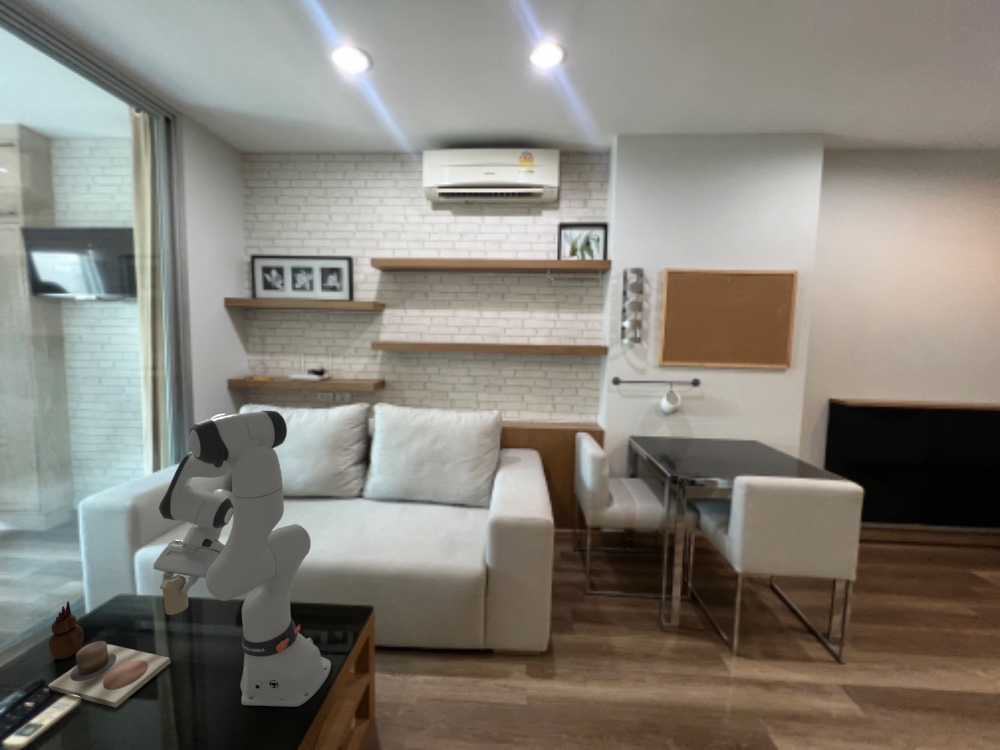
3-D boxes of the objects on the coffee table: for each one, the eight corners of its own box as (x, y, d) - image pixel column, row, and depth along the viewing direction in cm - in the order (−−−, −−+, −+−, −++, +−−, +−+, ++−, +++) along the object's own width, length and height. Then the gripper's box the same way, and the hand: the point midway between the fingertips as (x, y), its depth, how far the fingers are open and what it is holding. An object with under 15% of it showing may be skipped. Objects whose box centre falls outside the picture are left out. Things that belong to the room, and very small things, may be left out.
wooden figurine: (77, 642, 126) (71, 595, 124) (89, 648, 124) (82, 601, 122) (47, 659, 120) (39, 610, 117) (58, 666, 118) (50, 616, 115)
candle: (185, 600, 130) (181, 569, 129) (191, 607, 127) (187, 576, 125) (163, 609, 126) (159, 578, 125) (168, 617, 123) (164, 585, 121)
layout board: (170, 662, 119) (168, 641, 118) (115, 707, 105) (112, 683, 104) (108, 648, 124) (105, 627, 123) (48, 690, 110) (45, 666, 109)
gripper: (164, 535, 133) (135, 583, 125) (219, 543, 128) (193, 593, 120) (179, 541, 138) (152, 588, 130) (233, 549, 133) (208, 598, 125)
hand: (172, 591), depth 125 cm, fingers closed on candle, 5 cm apart
